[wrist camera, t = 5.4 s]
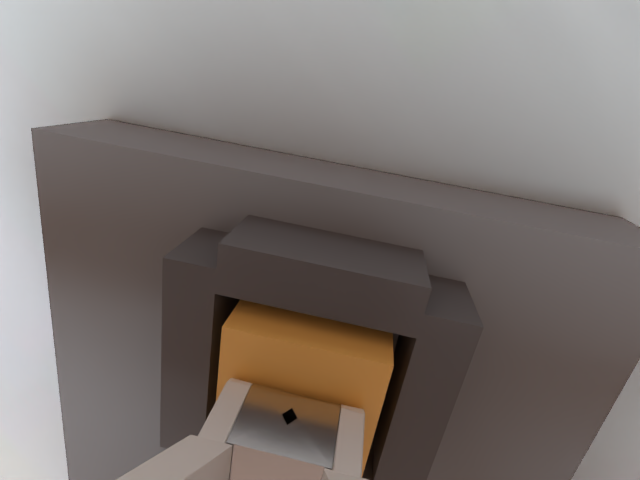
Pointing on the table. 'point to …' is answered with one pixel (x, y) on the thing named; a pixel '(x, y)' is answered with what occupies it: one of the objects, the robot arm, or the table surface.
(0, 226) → the table surface
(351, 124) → the table surface
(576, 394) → the control panel
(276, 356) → the amber button
